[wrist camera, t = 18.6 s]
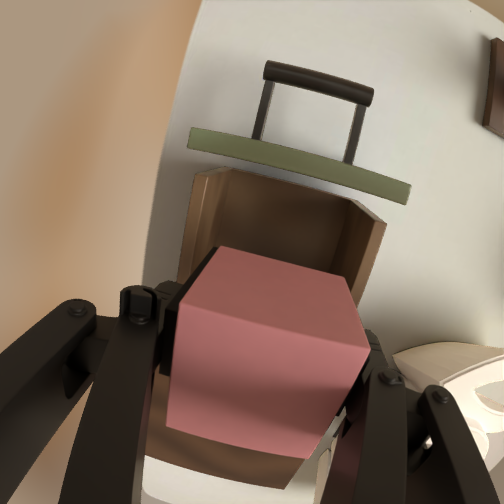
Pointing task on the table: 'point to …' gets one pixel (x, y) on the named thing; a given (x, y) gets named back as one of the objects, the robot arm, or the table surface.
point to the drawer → (289, 194)
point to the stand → (495, 90)
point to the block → (263, 354)
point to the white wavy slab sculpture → (455, 381)
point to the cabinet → (211, 450)
